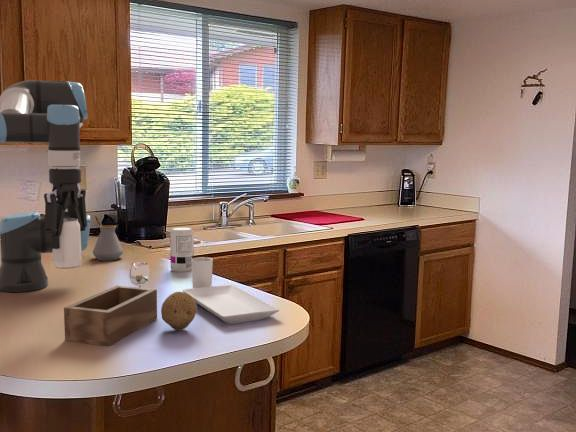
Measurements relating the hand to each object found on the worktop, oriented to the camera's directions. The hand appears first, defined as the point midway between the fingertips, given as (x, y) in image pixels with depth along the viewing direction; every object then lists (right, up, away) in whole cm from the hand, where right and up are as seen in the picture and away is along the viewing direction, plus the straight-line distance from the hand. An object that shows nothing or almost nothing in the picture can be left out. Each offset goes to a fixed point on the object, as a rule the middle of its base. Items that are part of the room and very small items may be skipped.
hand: (67, 258), depth 159 cm
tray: (+39, -16, +18) cm, 46 cm away
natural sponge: (+28, -18, -2) cm, 34 cm away
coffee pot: (-17, -6, +89) cm, 90 cm away
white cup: (+29, -13, +38) cm, 50 cm away
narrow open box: (+12, -18, -1) cm, 21 cm away
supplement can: (+18, -9, +67) cm, 70 cm away
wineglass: (+13, -15, +21) cm, 29 cm away
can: (0, -2, 0) cm, 2 cm away
